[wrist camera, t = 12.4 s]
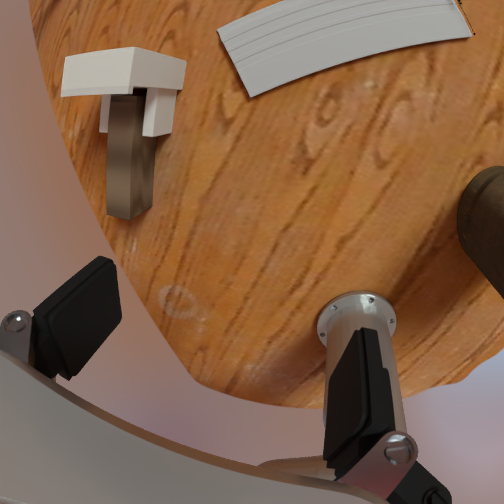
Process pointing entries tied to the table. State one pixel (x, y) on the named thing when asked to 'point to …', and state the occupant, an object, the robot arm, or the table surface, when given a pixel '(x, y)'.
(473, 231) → the wooden container
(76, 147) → the table surface
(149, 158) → the rail
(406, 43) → the baseboard molding
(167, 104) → the white forked bracket
